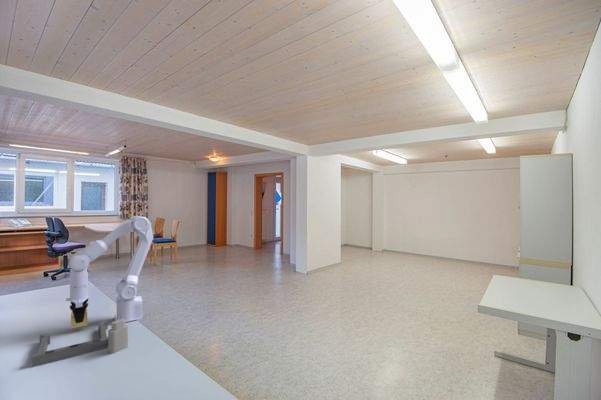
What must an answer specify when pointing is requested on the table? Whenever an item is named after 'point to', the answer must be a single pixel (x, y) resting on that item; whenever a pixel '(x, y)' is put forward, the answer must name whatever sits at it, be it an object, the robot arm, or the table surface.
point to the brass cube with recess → (74, 324)
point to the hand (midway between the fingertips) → (79, 320)
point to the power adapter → (117, 336)
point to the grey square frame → (69, 348)
